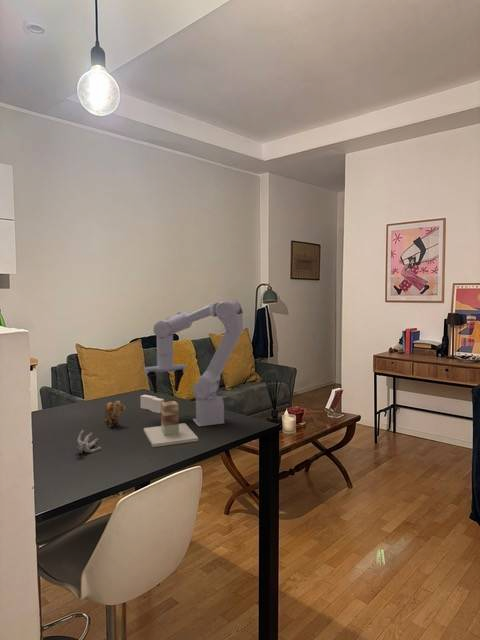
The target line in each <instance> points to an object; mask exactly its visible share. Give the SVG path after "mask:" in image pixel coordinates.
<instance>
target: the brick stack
mask: <svg viewBox="0 0 480 640" xmlns="http://www.w3.org/2000/svg"><path fill="white" fill-rule="evenodd" d="M179 412H180V411H179V403H177V401H175V400H172V401H164V402H161V413H160V423H161V422H162V424H163V425H164V426H169V425H177V424H180V423H179V420H180V419H179V418H180V417H179V415H180V414H179Z"/></svg>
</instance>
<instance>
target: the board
mask: <svg viewBox="0 0 480 640" xmlns="http://www.w3.org/2000/svg"><path fill="white" fill-rule="evenodd" d="M160 424H161V425H160V426H159V425H157V426H151V427H144V428H143V433H144V434H145V436H146V438H147V439H148V441H149V443H150V444H151V446H152V448H159V447H166V446H172V445H173V446H174V445H180V444H186V443H187V444H188V443H195V442H199V437H198V436H197V434H195V433H194V431H193V430H192V429H191V428H190V427H189V426H188V425H187V424H186V423H179V424H177V425H169V426H164V425H163V424H162V422H161V421H160Z"/></svg>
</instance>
